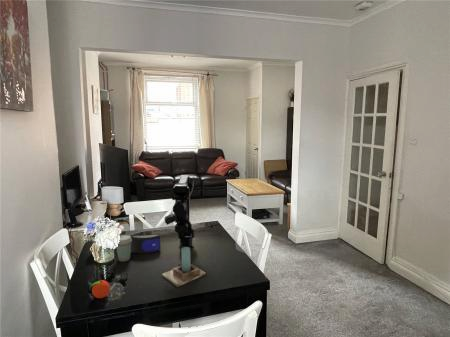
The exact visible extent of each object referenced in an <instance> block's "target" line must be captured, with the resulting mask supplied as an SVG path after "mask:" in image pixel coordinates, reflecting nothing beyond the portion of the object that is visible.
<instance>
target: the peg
mask: <svg viewBox="0 0 450 337" xmlns="http://www.w3.org/2000/svg"><path fill="white" fill-rule="evenodd" d="M180 249H181V250H180V251H181V265H182V272H183V273H187V272H189V271H191V268H190V263H191V248H189V247H183V248H180Z"/></svg>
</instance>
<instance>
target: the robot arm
mask: <svg viewBox="0 0 450 337" xmlns="http://www.w3.org/2000/svg"><path fill="white" fill-rule="evenodd" d="M194 183H195V182H194V179H192V178H191V176H190V175H188V174H184V175H183V174H181V175H180V176H179V179H178V183H175V184H174V186H173V187H172V196H171V198H172V201H174V204H173V207H172V212H173V213H171V214H168V215H165V216H164V219H163V220H164V223H165V224H166V225H167V226H168V225H170V224H172V223H175V225H174V232H175V233H177V237H178V239H179V246H178V247H179V248H180V249H182V248H183V247H189V248H190V249H193V248H195V246H194V245H193V239H194V238H196V236H195V230H194V227H193V224H192V222H191V221H190V218H191V217H190V214H191V213H190V211H191V201H190V200H191V194H192V193H193V189H194V188H195V187H194V186H195V184H194Z"/></svg>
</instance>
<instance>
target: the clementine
mask: <svg viewBox="0 0 450 337" xmlns="http://www.w3.org/2000/svg"><path fill="white" fill-rule="evenodd" d="M91 287H92V288H91ZM90 289H91V292H92V296H93V297H95V298H97V299H103V298H105V297H107V296H108V294H109V293H110V290H111V285H110V283H109V282H108V281H107V280H103V279H102V280H98V281H95V282H93V283H92V284H91V285H90V286H89V290H90Z"/></svg>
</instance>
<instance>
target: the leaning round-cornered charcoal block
mask: <svg viewBox="0 0 450 337" xmlns="http://www.w3.org/2000/svg"><path fill="white" fill-rule="evenodd" d="M131 238H132V241H131V252H132V253H134V254H138V255H139V254H144V255H145V254H152V253H157V252H159V251H160V250H161V248H162V247H161V236H160V235H159V234H150V235H149V234H148V235H133V236H131Z"/></svg>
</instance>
